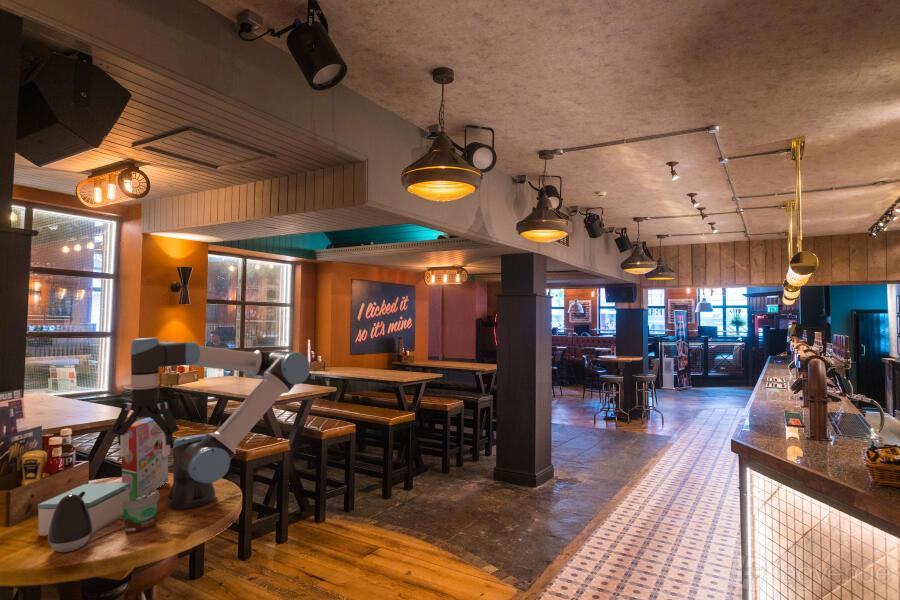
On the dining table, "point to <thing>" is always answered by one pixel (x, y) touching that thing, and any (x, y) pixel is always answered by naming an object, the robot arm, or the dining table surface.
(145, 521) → the food container
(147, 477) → the game box
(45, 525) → the cream box
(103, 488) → the box lid
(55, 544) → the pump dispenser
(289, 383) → the robot arm
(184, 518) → the dining table surface
